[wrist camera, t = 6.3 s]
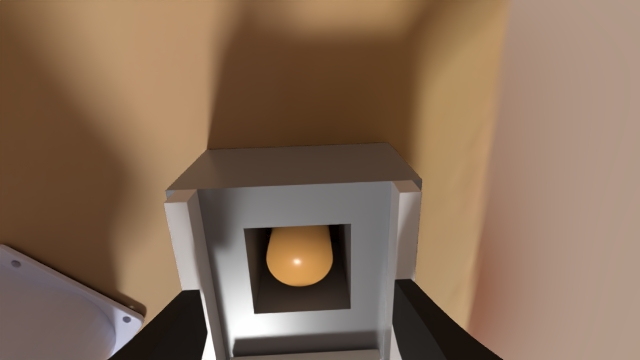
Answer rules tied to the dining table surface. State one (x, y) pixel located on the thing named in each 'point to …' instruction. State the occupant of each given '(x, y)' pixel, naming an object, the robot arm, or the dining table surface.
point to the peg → (300, 254)
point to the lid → (320, 356)
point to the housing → (296, 210)
